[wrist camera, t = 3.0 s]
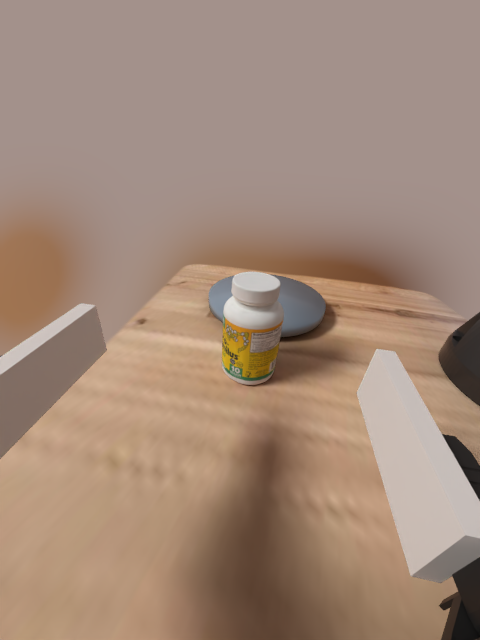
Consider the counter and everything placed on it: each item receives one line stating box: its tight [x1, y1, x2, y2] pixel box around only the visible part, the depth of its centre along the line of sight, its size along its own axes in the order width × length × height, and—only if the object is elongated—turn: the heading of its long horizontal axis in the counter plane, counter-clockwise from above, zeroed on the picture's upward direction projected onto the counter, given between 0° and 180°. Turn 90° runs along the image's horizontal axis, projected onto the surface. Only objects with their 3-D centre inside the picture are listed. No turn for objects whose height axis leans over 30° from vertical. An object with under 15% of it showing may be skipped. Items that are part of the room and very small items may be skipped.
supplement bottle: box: [222, 272, 284, 385], centre depth 24 cm, size 5×5×10 cm
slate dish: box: [209, 274, 326, 337], centre depth 36 cm, size 16×16×2 cm
